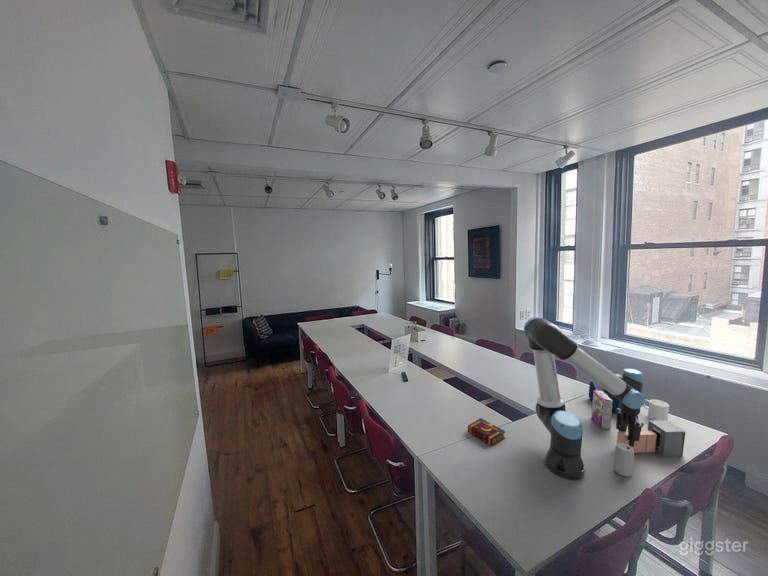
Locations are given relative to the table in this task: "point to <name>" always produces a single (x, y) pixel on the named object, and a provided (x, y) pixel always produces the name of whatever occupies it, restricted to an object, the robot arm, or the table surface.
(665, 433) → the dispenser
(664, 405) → the mug
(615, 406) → the radio
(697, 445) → the table surface
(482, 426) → the decorative book
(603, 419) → the candy bar box
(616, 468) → the beverage can
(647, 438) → the tall pink prism
